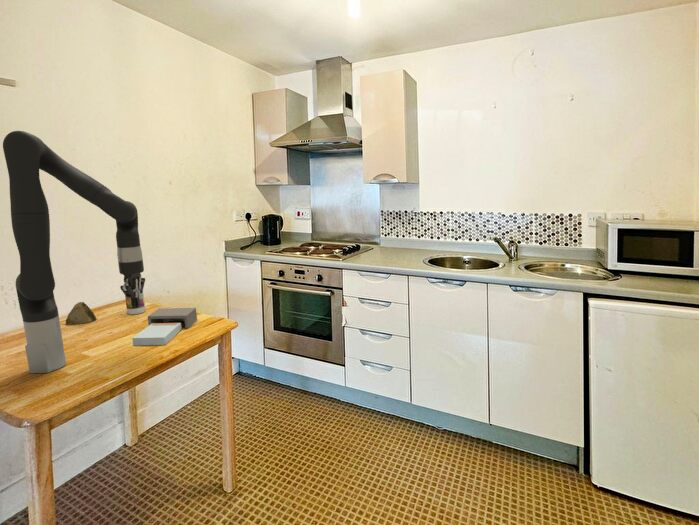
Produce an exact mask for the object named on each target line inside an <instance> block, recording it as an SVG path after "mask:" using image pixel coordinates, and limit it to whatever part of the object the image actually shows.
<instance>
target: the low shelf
mask: <svg viewBox="0 0 699 525" xmlns="http://www.w3.org/2000/svg"><path fill="white" fill-rule="evenodd" d="M197 320H198V315H197V307H167V308H163V307H162V308H161V307H160V308H159V307H158V308H157V309H156V310H154V311H153V312H151V313H150V314H149V315H147V323H148V326H149V325H151V324H152V323H162V322H163V323H170V322H169V321H172V322H182V321H185V322H184V328H185V329H189V328H190V327H191V326H192V325H193V324H195V323H196V322H197Z"/></svg>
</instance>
